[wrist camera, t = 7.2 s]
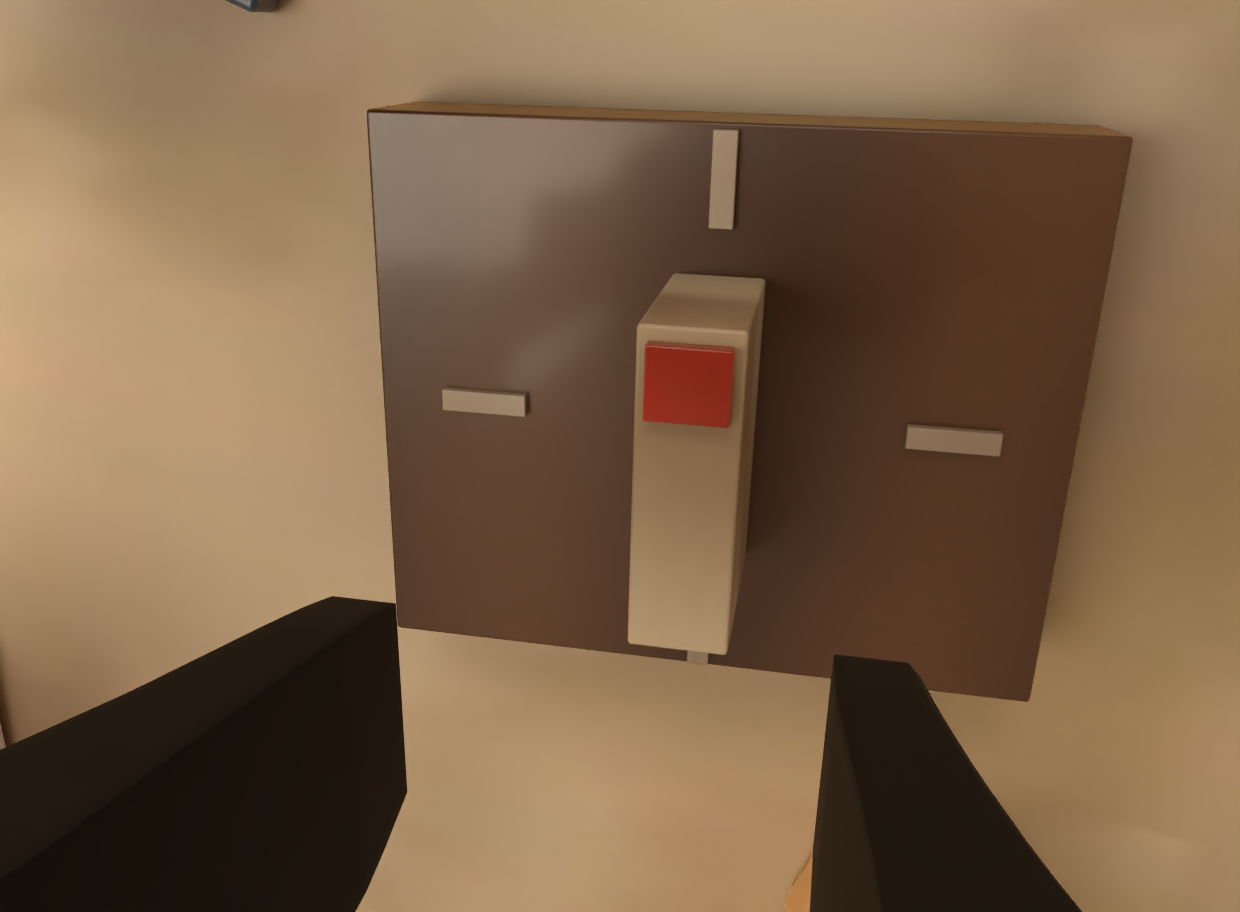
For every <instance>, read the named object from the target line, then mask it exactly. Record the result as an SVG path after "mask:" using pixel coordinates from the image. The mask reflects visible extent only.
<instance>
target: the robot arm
mask: <svg viewBox="0 0 1240 912" xmlns="http://www.w3.org/2000/svg"><path fill="white" fill-rule="evenodd" d="M406 794H407V781H406V764H405V748H404V732H403V715H402V699H401V682H400V666H399V650H398V633H397V617H396V604H395V603H386V602H378V601H369V600H360V599H352V598H343V597H334V596H332V597H329V598H326V599H324V600H321V601H318V602H315V603H313V604H310V605H308V606H306V607H303V608H301V609H299V610H297V611H294V612H292V613H290V614H288V615H286V616H283V617H281V618H279V619H277V620H275V621H273V622H271V623H269V624H267V625H265V626H262V627H260V628H258V629H256V630H254V631H252V632H250V633H248V634H246V635H244V636H242V637H240V638H238V639H236V640H234V641H232V642H230V643H228V644H226V645H224V646H222V647H220V648H218V649H216V650H214V651H212V652H210V653H208V654H206V655H204V656H202V657H199V658H197V659H195V660H193V661H191V662H189V663H187V664H185V665H183V666H181V667H179V668H177V669H175V670H173V671H171V672H169V673H167V674H165V675H163V676H161V677H159V678H157V679H155V680H153V681H151V682H149V683H147V684H144V685H142V686H140V687H138V688H136V689H134V690H132V691H130V692H128V693H126V694H124V695H121V696H119V697H117V698H115V699H112V700H110V701H108V702H106V703H104V704H101V705H99V706H97V707H95V708H92V709H90V710H88V711H86V712H84V713H81V714H79V715H77V716H75V717H72V718H70V719H68V720H66V721H64V722H61V723H59V724H57V725H55V726H52V727H50V728H48V729H46V730H44V731H41V732H39V733H37V734H35V735H32V736H30V737H28V738H26V739H23V740H21V741H19V742H17V743H15V744H12V745H10V746H8V747H6V746H5V741H4V737H3V732H2V728H1V723H0V912H355V911H356V909H357V907H358V906H359V904H360V902H361V900H362V898H363V897H364V895H365V893H366V891H367V889H368V886H369V884H370V882H371V879H372V877H373V875H374V872H375V870H376V868H377V865H378V863H379V861H380V858H381V856H382V854H383V851H384V849H385V847H386V844H387V842H388V839H389V837H390V834H391V832H392V829H393V827H394V824H395V821H396V819H397V816H398V814H399V811H400V809H401V806H402V804H403V801H404V799H405V796H406ZM810 912H1082V911H1081V910H1080V909H1079V907H1078V906H1077V905H1076V904H1075V902H1074V901H1073V900H1072V899H1071V897H1070V896H1069V895H1068V894H1067V893H1066V891H1065V890H1064V889H1063V888H1062V886H1061V885H1060V884H1059V883H1058V881H1057V880H1056V879H1055V878H1054V876H1053V875H1052V874H1051V873H1050V871H1049V870H1048V869H1047V867H1046V866H1045V865H1044V863H1043V862H1042V861H1041V859H1040V858H1039V857H1038V856H1037V854H1036V853H1035V852H1034V850H1033V849H1032V848H1031V846H1030V845H1029V844H1028V842H1027V841H1026V840H1025V838H1024V837H1023V835H1022V834H1021V833H1020V831H1019V830H1018V828H1017V827H1016V826H1015V824H1014V823H1013V821H1012V820H1011V819H1010V817H1009V816H1008V814H1007V813H1006V812H1005V810H1004V809H1003V807H1002V806H1001V805H1000V803H999V802H998V800H997V799H996V797H995V796H994V795H993V793H992V792H991V790H990V789H989V788H988V786H987V785H986V783H985V782H984V780H983V779H982V777H981V776H980V774H979V773H978V771H977V770H976V768H975V767H974V765H973V764H972V762H971V761H970V759H969V758H968V756H967V755H966V753H965V751H964V750H963V748H962V747H961V745H960V743H959V742H958V740H957V739H956V737H955V736H954V734H953V732H952V731H951V729H950V728H949V726H948V724H947V723H946V721H945V719H944V718H943V716H942V714H941V713H940V711H939V709H938V707H937V706H936V704H935V702H934V701H933V699H932V697H931V695H930V693H929V692H928V690H927V688H926V686H925V684H924V683H923V681H922V679H921V677H920V676H919V675H918V673H917V672H916V671H915V670H914V669H913V667H912V666H911V665H910V664H909V663H907V662H898V661H889V660H880V659H872V658H863V657H854V656H846V655H837V654H834V657H833V667H832V676H831V685H830V695H829V704H828V714H827V723H826V733H825V742H824V751H823V761H822V770H821V780H820V789H819V798H818V808H817V817H816V827H815V836H814V846H813V859H812V877H811V896H810Z"/></svg>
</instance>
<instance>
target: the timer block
mask: <svg viewBox="0 0 1240 912" xmlns="http://www.w3.org/2000/svg"><path fill="white" fill-rule="evenodd" d="M367 125H368V142H369V158H370V175H371V191H372V208H373V224H374V241H375V257H376V274H377V290H378V307H379V323H380V340H381V356H382V373H383V389H384V406H385V422H386V439H387V455H388V472H389V488H390V505H391V521H392V538H393V554H394V571H395V587H396V604H397V620H398V626H399V627H403V628H411V629H419V630H428V631H436V632H445V633H453V634H461V635H470V636H478V637H487V638H495V639H503V640H512V641H520V642H529V643H537V644H545V645H554V646H562V647H571V648H579V649H587V650H596V651H604V652H613V653H621V654H629V655H638V656H646V657H655V658H663V659H671V660H680V661H687V662H688V663H697V664H705V665H707V664H713V665H722V666H730V667H739V668H747V669H755V670H764V671H772V672H781V673H789V674H797V675H806V676H814V677H823V678H831V676H832V667H833V657H834V654H837V655H846V656H854V657H863V658H872V659H880V660H889V661H898V662H907V663H909V664H910V665H911V666H912V667H913V669H914V670H915V671H916V672H917V673H918V675H919V676H920V677H921V679H922V681H923V683H924V684H925V686H926V688H927V690H932V691H940V692H949V693H957V694H965V695H974V696H982V697H991V698H999V699H1007V700H1016V701H1024V702H1027V701H1029V699H1030V695H1031V690H1032V684H1033V679H1034V673H1035V668H1036V663H1037V657H1038V652H1039V646H1040V641H1041V636H1042V630H1043V625H1044V619H1045V614H1046V608H1047V603H1048V598H1049V592H1050V587H1051V581H1052V576H1053V570H1054V565H1055V560H1056V554H1057V549H1058V543H1059V538H1060V533H1061V527H1062V522H1063V516H1064V511H1065V505H1066V500H1067V495H1068V489H1069V484H1070V478H1071V473H1072V468H1073V462H1074V457H1075V451H1076V446H1077V440H1078V435H1079V430H1080V424H1081V419H1082V413H1083V408H1084V403H1085V397H1086V392H1087V386H1088V381H1089V375H1090V370H1091V365H1092V359H1093V354H1094V348H1095V343H1096V338H1097V332H1098V327H1099V321H1100V316H1101V310H1102V305H1103V300H1104V294H1105V289H1106V283H1107V278H1108V272H1109V267H1110V262H1111V256H1112V251H1113V245H1114V240H1115V235H1116V229H1117V224H1118V218H1119V213H1120V207H1121V202H1122V197H1123V191H1124V186H1125V180H1126V175H1127V170H1128V164H1129V159H1130V153H1131V148H1132V142H1133V140H1132V137H1130V136H1127V135H1124V134H1121V133H1118V132H1116V131H1113V130H1110V129H1107V128H1104V127H1101V126H1095V125H1066V124H1037V123H1008V122H979V121H950V120H921V119H892V118H863V117H834V116H806V115H777V114H748V113H719V112H690V111H661V110H632V109H603V108H574V107H545V106H516V105H487V104H458V103H429V102H411V103H405V104H399V105H392V106H386V107H379V108H373V109H369V110H367ZM675 273H680V274H696V275H712V276H728V277H744V278H761V279H764V280H765V295H764V309H763V323H762V337H761V350H760V364H759V378H758V392H757V406H756V419H755V433H754V447H753V461H752V474H751V488H750V502H749V516H748V530H747V543H746V555H745V560H744V566H743V571H742V577H741V582H740V587H739V593H738V598H737V603H736V609H735V614H734V620H733V625H732V630H731V636H730V641H729V646H728V651H727V653H726V654H725V655H720V654H712V653H703V652H695V651H687V650H678V649H670V648H662V647H653V646H645V645H637V644H630V643H629V642H628V610H629V576H630V543H631V509H632V475H633V442H634V408H635V375H636V341H637V326H638V324H639V322H640V321H641V319H642V318H643V316H644V315H645V314H646V312H647V311H648V309H649V308H650V307H651V305H652V304H653V302H654V301H655V299H656V298H657V297H658V295H659V294H660V292H661V291H662V290H663V288H664V287H665V285H666V284H667V283H668V281H669V280H670V278H671V277H672V275H673V274H675Z"/></svg>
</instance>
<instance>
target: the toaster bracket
mask: <svg viewBox="0 0 1240 912" xmlns="http://www.w3.org/2000/svg"><path fill="white" fill-rule="evenodd" d="M226 1H228V2H230V3H233V4H235V5H237V6H239V7H241V8H243V9H245V10H247V11H250V12H273V11H274V10H275V8H276V4H277V0H226Z"/></svg>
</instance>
